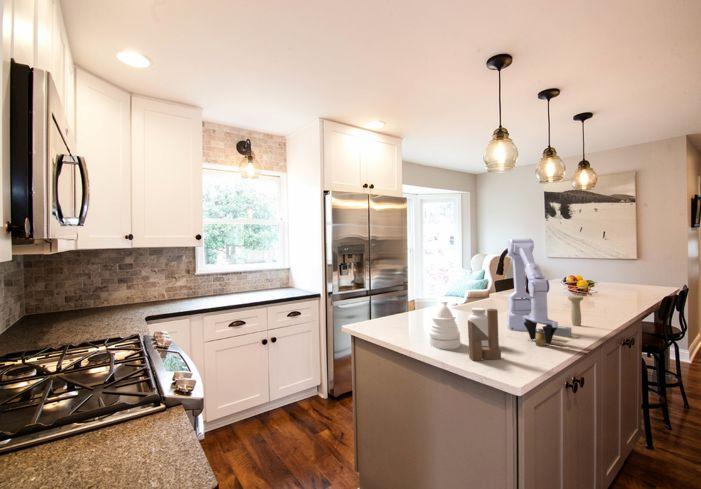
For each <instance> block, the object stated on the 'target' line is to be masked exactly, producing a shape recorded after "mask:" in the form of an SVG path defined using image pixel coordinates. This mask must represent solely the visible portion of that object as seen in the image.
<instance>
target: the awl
mask: <svg viewBox="0 0 701 489" xmlns="http://www.w3.org/2000/svg"><path fill="white" fill-rule="evenodd" d="M535 334H536V339H535V340H536V342H535V346H536V347H546V344H545V334H544V330H543V328H536V333H535Z"/></svg>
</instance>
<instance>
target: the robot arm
mask: <svg viewBox="0 0 701 489" xmlns="http://www.w3.org/2000/svg"><path fill="white" fill-rule="evenodd" d="M534 249H535V244H534V241H533V239H532V238H531V237H530V238H529V237H528V238H510V239H508V242H507V254H508V256H509V257H510V258H511V259H512V274H513V286H514V291H513V292H511V293H510V294H509V295H508V301H507V307H508V309H509V310H508V311H510V312H507V330H509V331H521V332H527V333H528V335H529V339H530V340H531V341H532V340H536V339H535V338H536V334H535V333H536V332H537V326H538V324H540V325H544V326H542V328H541V329H543V331H544V334H545V342H546V344H545V345H549V344H552V342H551V341H552V337H553V334H554V332H555V331H556V329H557V327H558V326H559V322H558V321H555V320H552V319H549V317H548V315H549V314H548V293H549V291H550V282H549V279H548V278H546V276H544V275H543V273H542V270H541V268H540V266H539V265H538V264H537V263H536V262H535V260H534V259H535V258H534V256H533V251H534ZM526 278H527V280H528V284H527V286H528V287H526ZM526 288H528V292H529V293H528V292H527V291H526V290H527V289H526ZM530 314H531V315H530Z"/></svg>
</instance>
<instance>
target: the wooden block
mask: <svg viewBox="0 0 701 489" xmlns="http://www.w3.org/2000/svg"><path fill="white" fill-rule="evenodd" d="M498 311H499V310H498V309H497V308H487V309H486V316H487V322H488V336H487V335H485V334H484V333H483V332H482V331H481V330H480V329H479V328H478V327H477V326H476V325H475V324H474V323H473V322H471V321H469V319H467V336H468V355H469V356H468V357H469V358H468V359H470V360H472V362H473V361H474V362H476V361H478V362H479V361H483V360H485V361H486V360H487V361H489V360H490V361H491V360H501V359H502V350H501V348H500V344H499V343H500V342H499V341H500V340H499V339H500V338H499V315H498V314H499V313H498ZM485 340H488V346H483V347H482V341H485Z"/></svg>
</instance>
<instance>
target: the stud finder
mask: <svg viewBox="0 0 701 489" xmlns="http://www.w3.org/2000/svg"><path fill="white" fill-rule="evenodd" d="M572 333H573V332H572V327H568V326H563V325H558V327H557V329H556V331H555V332H554V334H553V335H554V336H561V337H567V338H569V337H571V336H572Z"/></svg>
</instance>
